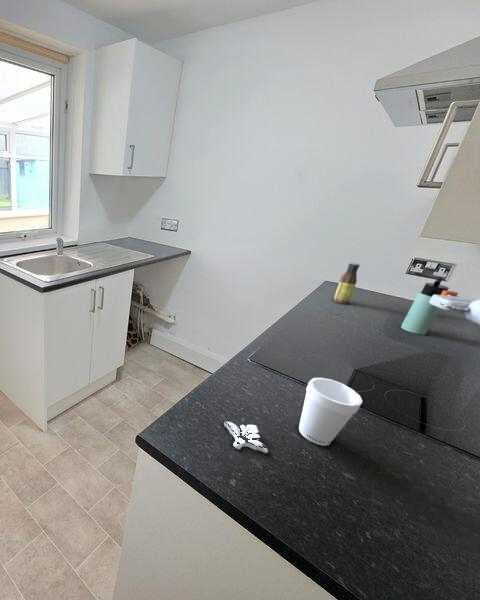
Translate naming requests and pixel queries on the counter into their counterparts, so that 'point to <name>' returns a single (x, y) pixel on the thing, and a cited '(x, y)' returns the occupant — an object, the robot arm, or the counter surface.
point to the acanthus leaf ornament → (246, 429)
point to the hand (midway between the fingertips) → (450, 297)
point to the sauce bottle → (346, 284)
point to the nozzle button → (449, 293)
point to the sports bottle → (423, 309)
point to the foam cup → (327, 409)
